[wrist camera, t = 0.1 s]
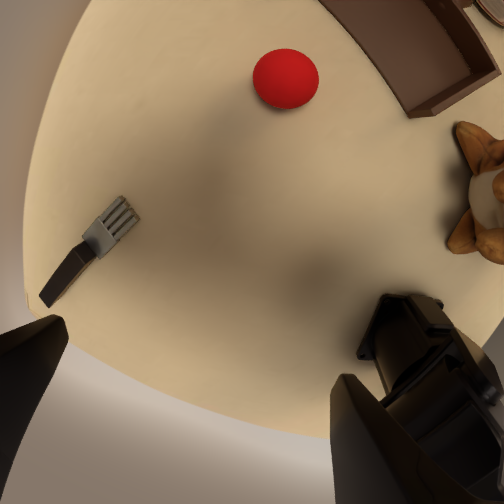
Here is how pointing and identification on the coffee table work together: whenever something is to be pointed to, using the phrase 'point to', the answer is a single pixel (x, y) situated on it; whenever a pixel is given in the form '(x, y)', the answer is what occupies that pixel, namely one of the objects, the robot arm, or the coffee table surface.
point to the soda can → (493, 9)
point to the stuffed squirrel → (482, 196)
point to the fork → (89, 249)
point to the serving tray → (420, 49)
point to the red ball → (285, 78)
